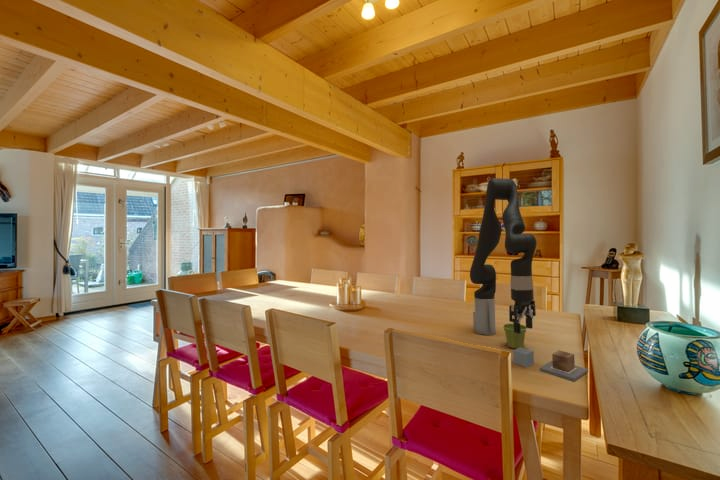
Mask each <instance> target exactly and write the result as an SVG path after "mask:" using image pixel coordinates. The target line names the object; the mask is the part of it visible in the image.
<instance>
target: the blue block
mask: <svg viewBox="0 0 720 480" xmlns="http://www.w3.org/2000/svg"><path fill="white" fill-rule="evenodd" d="M512 351H513V352H512V354H513V357H512V358H513V359H512V360H513V364H514V363H515V365H518V366H521V367H524V368H527V369H528V368H529V367H531V366H533V365H534V364H535V363H534V362H535V360H534V359H535V358H534V356H535V355H534V354H535V353H534V350H532V349H529V348H526V347H523V348H521V347H520V348H517V349H516V348H514V349H513V350H512Z"/></svg>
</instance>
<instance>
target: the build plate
mask: <svg viewBox="0 0 720 480" xmlns="http://www.w3.org/2000/svg"><path fill="white" fill-rule="evenodd" d="M539 371H541V372H543V373H546V374H549V375H553V376H556V377H558V378H562V379H565V380H567V381H571V382H576V381H577V380H579V379H581V377H583V376H584V375H585V373H586V374H587V373H589V369H588V368H585V367H582V366H579V365H575V368H574V369H573V370H571V371H570V372H565V371H562V370H558V369H555V368H553V362H552V360H551V361H549V362H547V363H545V364H543V365H542V366H540V367H539Z"/></svg>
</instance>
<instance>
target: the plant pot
mask: <svg viewBox="0 0 720 480" xmlns="http://www.w3.org/2000/svg"><path fill="white" fill-rule="evenodd" d="M520 325H521V333H520V334H518V333H514V323H505V324H503V325H502V328H503V330H504V332H505V337H506V338H505V339H506V344H507V347H508V346H509V348H510V347H511V349H517V348H520V347H521V348H525V347H524V345H525V335H526V331H527V330H528V328H526V325H523V324H521V323H520Z"/></svg>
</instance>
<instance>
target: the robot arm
mask: <svg viewBox="0 0 720 480" xmlns="http://www.w3.org/2000/svg"><path fill="white" fill-rule="evenodd" d="M518 196H519V195H518V189H517V185H516V182H515V180H513V179H512V178H511V179H510V178H498V177H497V178H496V177H493V178H490V179H489V180H488V182H487V187H486V191H485V199H484V209H483V214H482V219H481V223H480V229H479V233H478V239H477V245H476V249H475V253H474V256H473V259H472V263H471V266H470V270H469V278H470V281H471V283H472V284H474V285H481V287H479V288H478V289H476V290H474V293H473V296H474V299H473V301H474V312H472V316H473V317H472V318H473V319H472V321H473V322H472V323H473V332H474V331H476V332H477V333H476V332H475V333H476V334H478V333H479V334H478V335H481V334H484V335H483V336H493V335H495V334H496V303H495V301H496V300H495V295H496V291H497V273H496V269H495V267H494V266H493V265H492V264H489V263H487V264H486V261H487V259H488V257H489V256H490V255H491V254H492V253H493V251H494V250H495V249H496V248H497V247H498V245H499V243H500V240H501V235H502V231H503V230H502V229H503V227H502V224H503V226H504V231H505V237H504V248H505V250H506V251H507V252H508V253H511V254H519V253H520V254H521V253H522V254H523V255H522V257H520V258H515V259H512V260H511V261H510V298H511V300H512V301H514V305H512V304H511V305H509V310H508V311H509V312H508V314H509V319H508V320H509V322H510V323H512V324H514V333H518V334H520V333H521V325H522V324H521V320H522V319H523V318H524V317H525V326H526V328H527V329H528V330H529V329H530V330H531V329H533V327H534V326H533V324H534V323H533V319H534V317H536V315H537V312H536V301H535V300H534V296H535V295H534V279H533V270H532V267H533V259H534V255H535V251H536V248H537V238H536V236H535V235H534V234H532V233H524V232H525V230H526V226H525V222H524V220H523V217H522V214H521V210H520V203H519V197H518ZM498 200H499V201H507V205H506V206H505V209H504V210H503V213H502V214H501V215H502V217H501V219H502V224H501V222H500V220H499V219H500V218H498V215H497V214H496V210H495V209H496V208H495V202H496V201H498ZM520 324H521V325H520Z"/></svg>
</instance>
